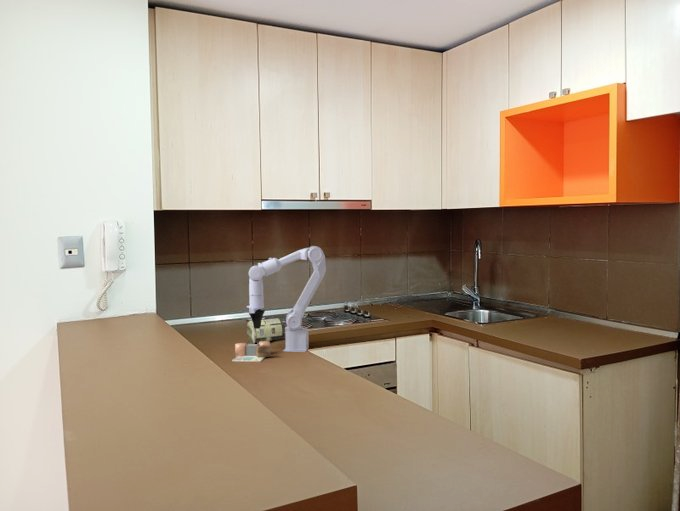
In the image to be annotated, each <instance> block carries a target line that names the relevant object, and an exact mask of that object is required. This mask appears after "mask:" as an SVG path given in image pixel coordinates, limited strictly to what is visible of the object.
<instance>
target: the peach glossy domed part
mask: <svg viewBox="0 0 680 511" xmlns="http://www.w3.org/2000/svg"><path fill="white" fill-rule="evenodd" d="M246 346H247V343H246V342H237V343H235V344H234V353H235V357H237V356H238V357H242V356H246Z"/></svg>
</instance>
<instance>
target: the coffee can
mask: <svg viewBox="0 0 680 511" xmlns="http://www.w3.org/2000/svg"><path fill="white" fill-rule="evenodd" d="M246 335H247V339H248V342H249V341H250V342H251V343H257V344H259V342H260V341H272V342H274V341H273V340H275V341H280V340H281V341H283V340H284V339H285V324H284V321H283V319H282V318H281V317H278V318H268V319H262V321H261V326H260V328H259V329H254V325H253V321H252V320H249V321H248V322H247V326H246ZM250 342H249V343H250ZM251 343H250V344H251Z"/></svg>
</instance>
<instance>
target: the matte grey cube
mask: <svg viewBox="0 0 680 511" xmlns="http://www.w3.org/2000/svg"><path fill="white" fill-rule="evenodd" d="M256 346H259V343H257V344H251V343H248V344H246V356H256Z"/></svg>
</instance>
